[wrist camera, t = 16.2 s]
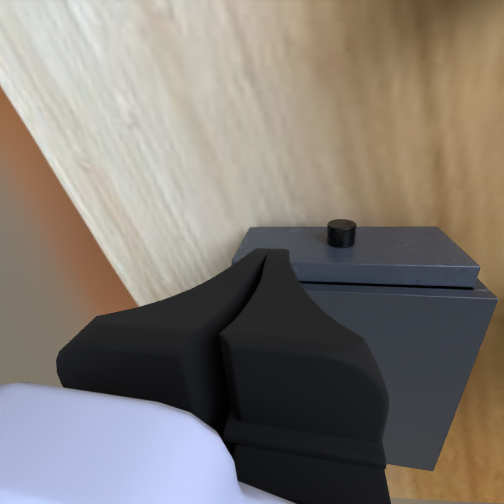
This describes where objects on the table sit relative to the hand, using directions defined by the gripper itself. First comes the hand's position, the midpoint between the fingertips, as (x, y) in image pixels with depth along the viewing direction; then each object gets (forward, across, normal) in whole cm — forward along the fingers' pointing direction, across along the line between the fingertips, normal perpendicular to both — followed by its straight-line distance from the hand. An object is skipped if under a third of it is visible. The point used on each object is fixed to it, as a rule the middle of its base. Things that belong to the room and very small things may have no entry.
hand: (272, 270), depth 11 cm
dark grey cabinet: (+10, -3, +10) cm, 14 cm away
